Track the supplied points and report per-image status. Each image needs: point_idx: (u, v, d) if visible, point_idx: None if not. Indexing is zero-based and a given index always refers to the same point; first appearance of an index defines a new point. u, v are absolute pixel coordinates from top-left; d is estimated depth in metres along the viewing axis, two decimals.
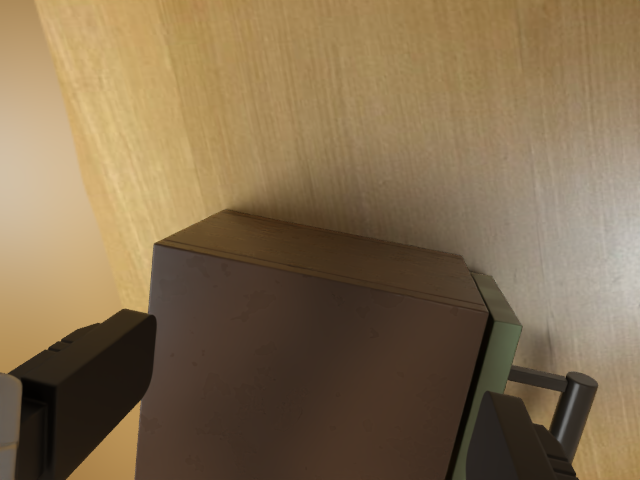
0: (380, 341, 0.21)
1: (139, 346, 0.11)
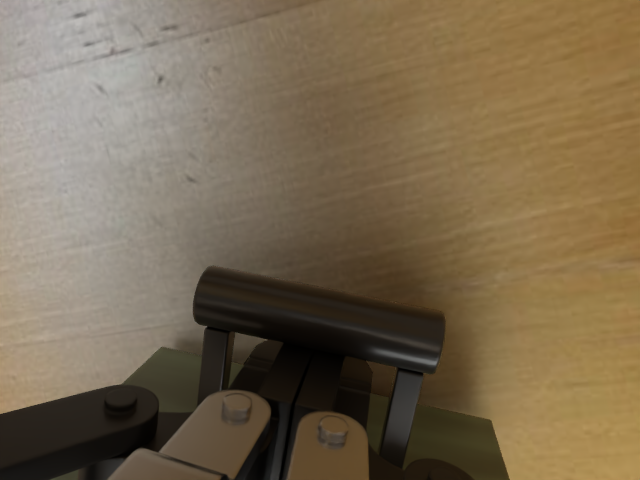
0: None
1: None
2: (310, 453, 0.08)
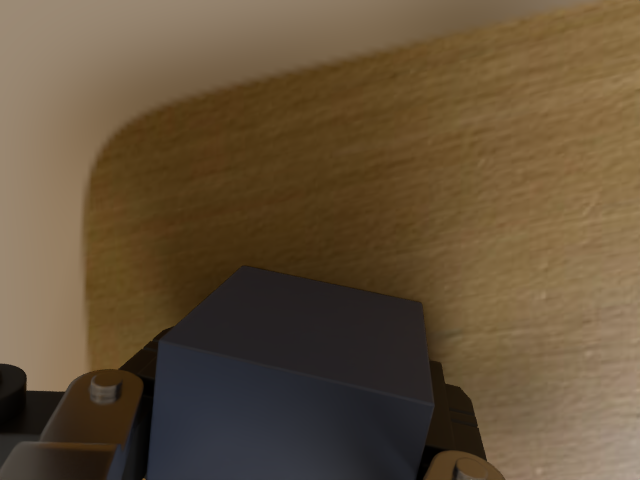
0: None
1: None
2: None
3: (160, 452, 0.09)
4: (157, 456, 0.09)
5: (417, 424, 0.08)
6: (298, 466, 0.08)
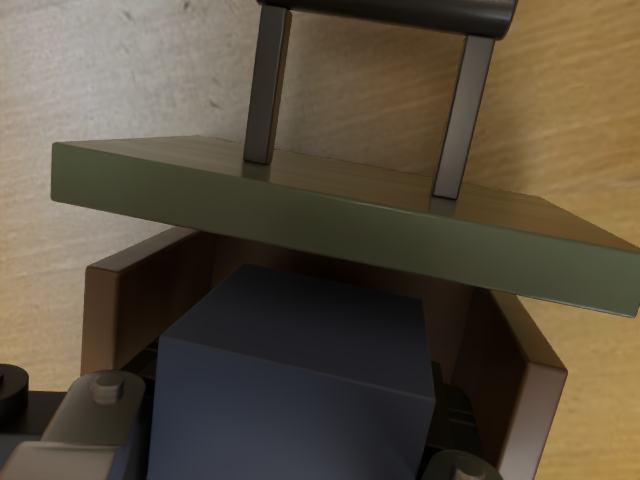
0: None
1: None
2: None
3: (161, 448, 0.09)
4: (158, 452, 0.09)
5: (418, 420, 0.08)
6: (299, 461, 0.08)
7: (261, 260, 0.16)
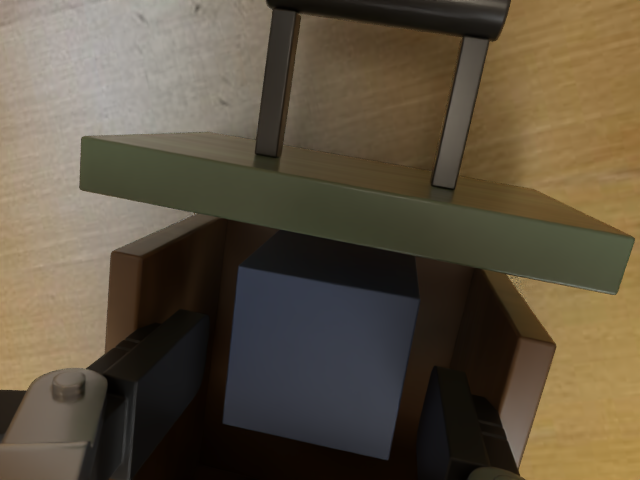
0: None
1: (196, 344, 0.12)
2: None
3: (238, 343, 0.13)
4: (236, 346, 0.13)
5: (409, 313, 0.12)
6: (332, 347, 0.13)
7: None
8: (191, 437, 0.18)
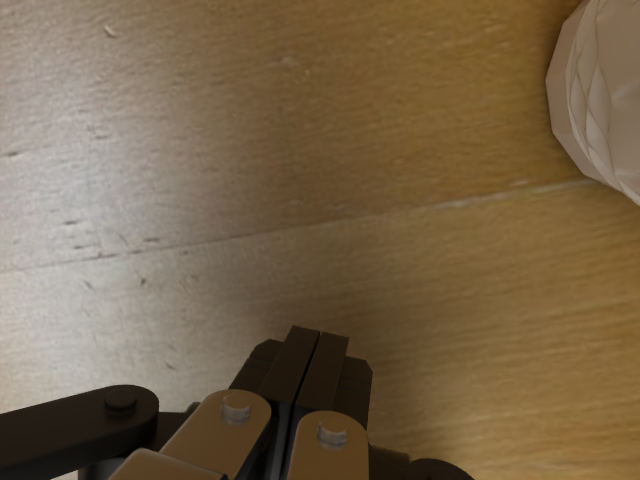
0: None
1: None
2: (310, 453, 0.08)
3: None
4: None
5: None
6: None
7: None
8: None
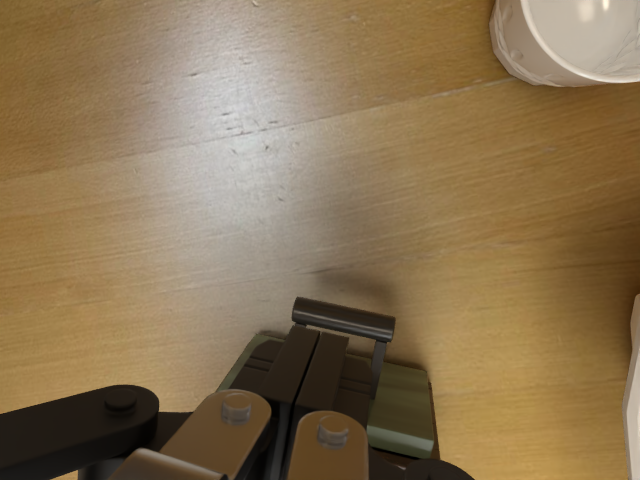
0: None
1: None
2: (310, 453, 0.08)
3: None
4: None
5: None
6: None
7: None
8: None
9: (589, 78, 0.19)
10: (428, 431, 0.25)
